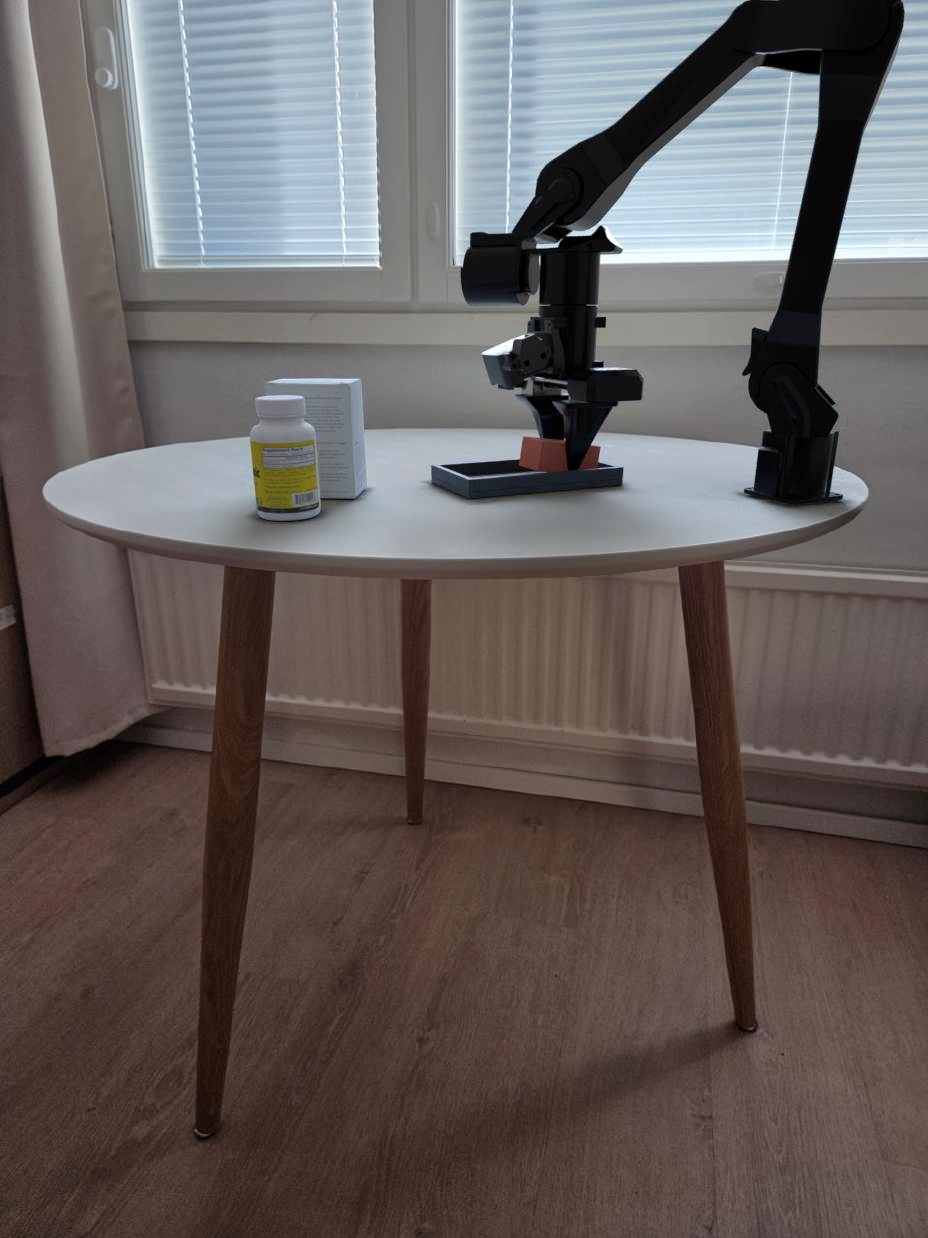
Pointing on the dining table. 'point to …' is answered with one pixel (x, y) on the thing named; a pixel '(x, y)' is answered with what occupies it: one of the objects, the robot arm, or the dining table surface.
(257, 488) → the supplement bottle
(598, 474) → the tray
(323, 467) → the small box
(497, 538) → the dining table surface
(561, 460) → the brick
